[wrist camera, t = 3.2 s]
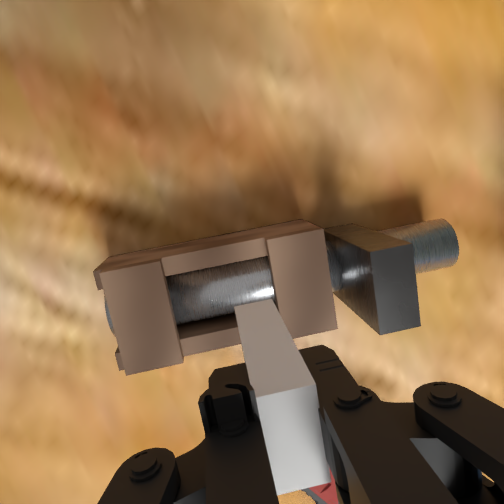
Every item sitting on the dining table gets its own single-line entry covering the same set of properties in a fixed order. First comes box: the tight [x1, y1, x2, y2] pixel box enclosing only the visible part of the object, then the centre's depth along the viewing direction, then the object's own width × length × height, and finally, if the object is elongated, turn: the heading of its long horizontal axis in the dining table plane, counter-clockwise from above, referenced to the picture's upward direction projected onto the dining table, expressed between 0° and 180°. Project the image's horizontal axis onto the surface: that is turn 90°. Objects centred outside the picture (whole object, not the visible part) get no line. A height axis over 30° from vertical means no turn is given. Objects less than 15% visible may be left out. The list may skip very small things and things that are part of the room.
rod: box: [105, 219, 459, 337], centre depth 22 cm, size 20×4×8 cm, turn 100°
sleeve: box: [93, 219, 338, 376], centre depth 24 cm, size 12×6×5 cm, turn 100°
